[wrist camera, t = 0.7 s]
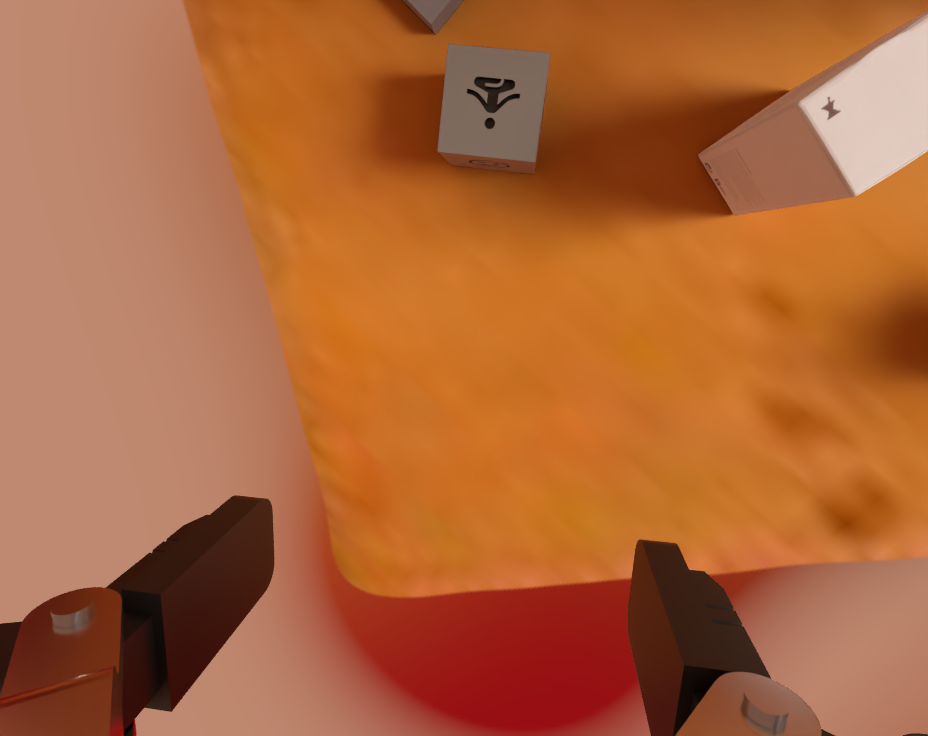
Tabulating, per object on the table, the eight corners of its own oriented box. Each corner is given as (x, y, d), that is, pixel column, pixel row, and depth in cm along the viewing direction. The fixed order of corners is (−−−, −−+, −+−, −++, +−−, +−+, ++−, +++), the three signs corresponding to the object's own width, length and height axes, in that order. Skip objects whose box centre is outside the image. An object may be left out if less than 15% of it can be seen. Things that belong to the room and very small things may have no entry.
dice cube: (547, 82, 31) (550, 53, 27) (534, 174, 33) (535, 162, 28) (460, 74, 32) (448, 43, 27) (450, 165, 33) (437, 151, 28)
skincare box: (733, 219, 32) (850, 202, 20) (694, 155, 31) (791, 101, 20) (835, 152, 30) (1022, 94, 19) (795, 85, 30) (963, -17, 18)
